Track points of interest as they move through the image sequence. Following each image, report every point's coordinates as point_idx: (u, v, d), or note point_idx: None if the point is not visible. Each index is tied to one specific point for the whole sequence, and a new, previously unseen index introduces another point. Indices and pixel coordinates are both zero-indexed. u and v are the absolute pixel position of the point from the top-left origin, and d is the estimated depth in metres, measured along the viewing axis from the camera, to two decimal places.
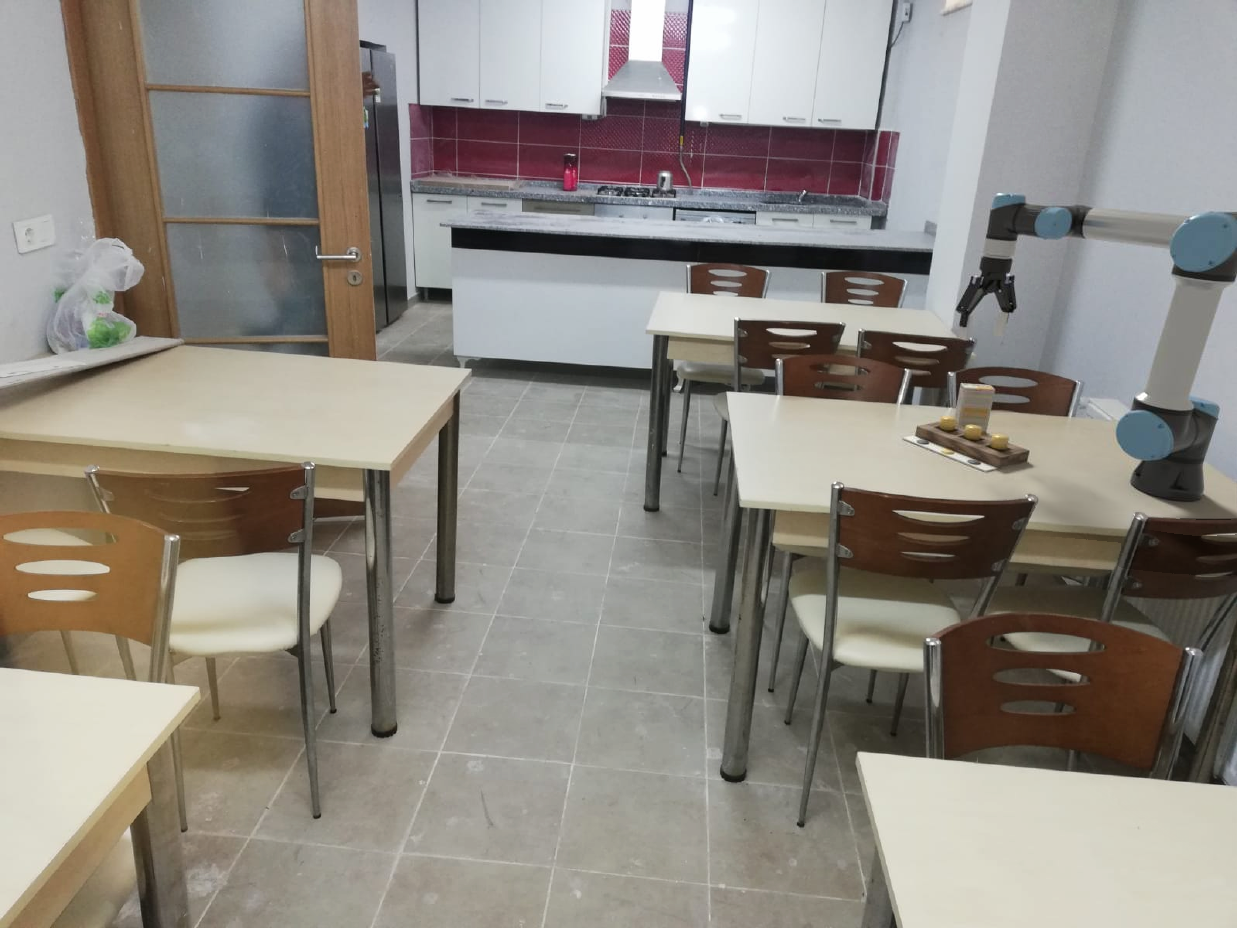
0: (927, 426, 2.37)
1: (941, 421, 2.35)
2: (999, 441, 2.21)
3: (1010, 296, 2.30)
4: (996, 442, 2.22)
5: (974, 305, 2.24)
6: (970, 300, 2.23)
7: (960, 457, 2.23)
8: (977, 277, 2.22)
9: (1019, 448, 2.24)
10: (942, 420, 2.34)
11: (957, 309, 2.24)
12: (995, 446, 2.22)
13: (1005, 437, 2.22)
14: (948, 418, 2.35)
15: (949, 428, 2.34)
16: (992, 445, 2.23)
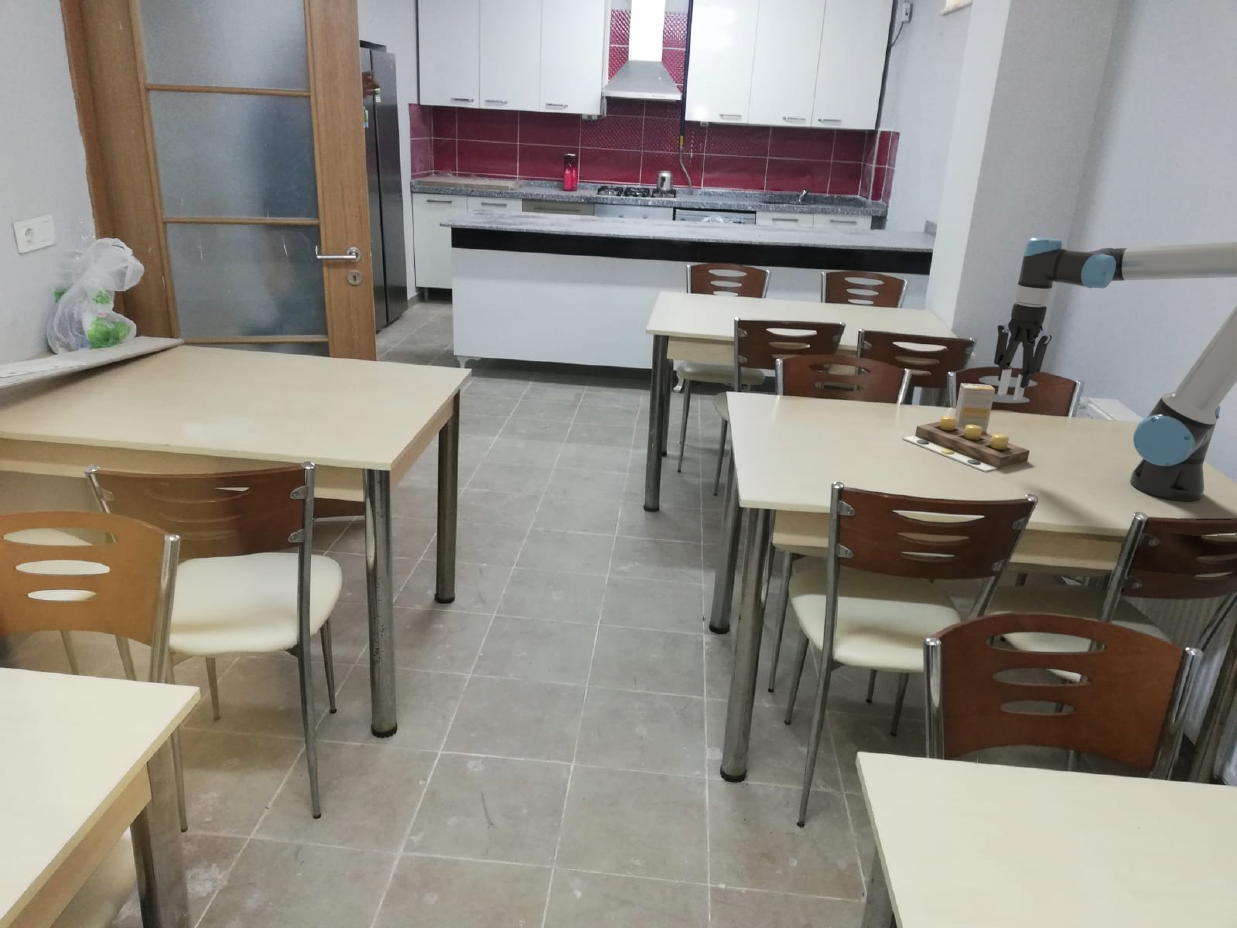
0: (927, 426, 2.37)
1: (941, 421, 2.35)
2: (999, 441, 2.21)
3: None
4: (996, 442, 2.22)
5: (1004, 357, 2.17)
6: (998, 350, 2.18)
7: (960, 457, 2.23)
8: None
9: (1019, 448, 2.24)
10: (942, 420, 2.34)
11: None
12: (995, 446, 2.22)
13: (1005, 437, 2.22)
14: (948, 418, 2.35)
15: (949, 428, 2.34)
16: (992, 445, 2.23)
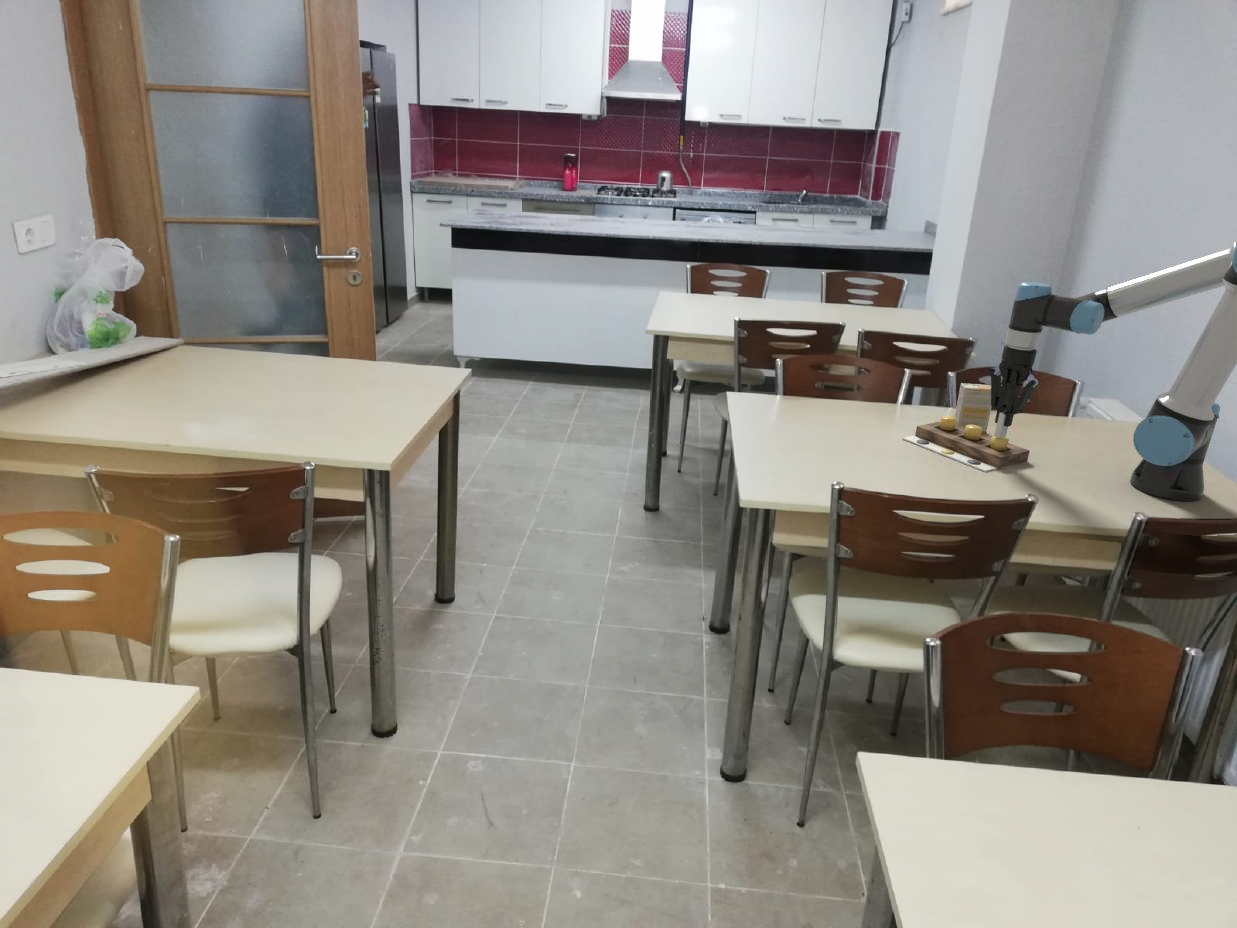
0: (927, 426, 2.37)
1: (941, 421, 2.35)
2: (999, 443, 2.21)
3: None
4: (995, 444, 2.22)
5: (1000, 400, 2.20)
6: (993, 393, 2.21)
7: (960, 457, 2.23)
8: None
9: (1019, 448, 2.24)
10: (942, 420, 2.34)
11: None
12: (994, 447, 2.22)
13: (1005, 438, 2.22)
14: (948, 418, 2.35)
15: (949, 428, 2.34)
16: (992, 446, 2.23)
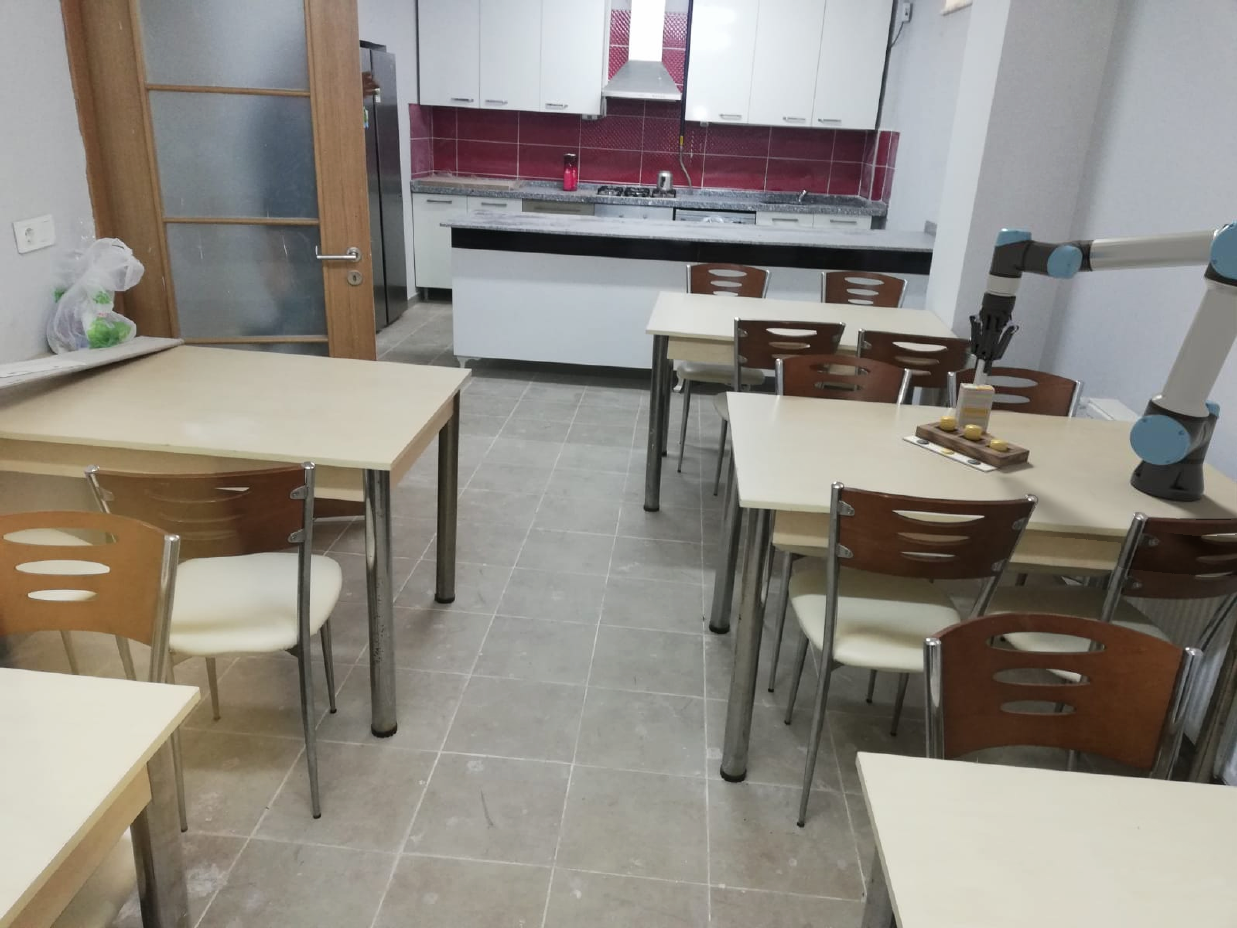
0: (927, 426, 2.37)
1: (941, 421, 2.35)
2: (998, 447, 2.21)
3: None
4: (994, 448, 2.22)
5: (979, 346, 2.22)
6: (973, 340, 2.23)
7: (960, 457, 2.23)
8: None
9: (1019, 448, 2.24)
10: (942, 420, 2.34)
11: None
12: None
13: (1004, 442, 2.23)
14: (948, 418, 2.35)
15: (949, 428, 2.34)
16: None
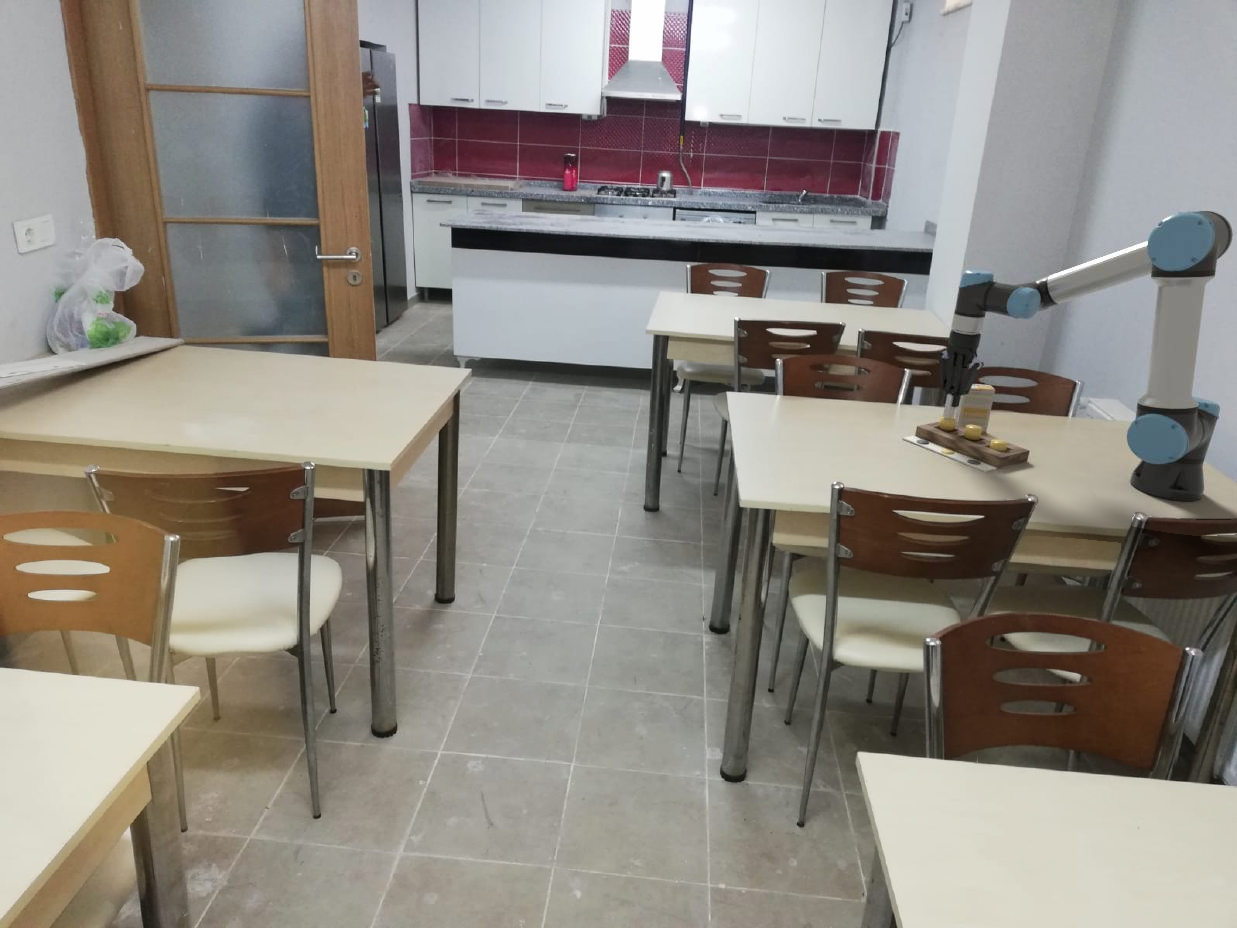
0: (927, 426, 2.37)
1: (941, 421, 2.35)
2: (998, 447, 2.21)
3: None
4: (994, 448, 2.22)
5: (947, 382, 2.32)
6: (941, 375, 2.33)
7: (960, 457, 2.23)
8: None
9: (1019, 448, 2.24)
10: (942, 420, 2.34)
11: None
12: None
13: (1004, 442, 2.23)
14: None
15: (949, 428, 2.34)
16: None
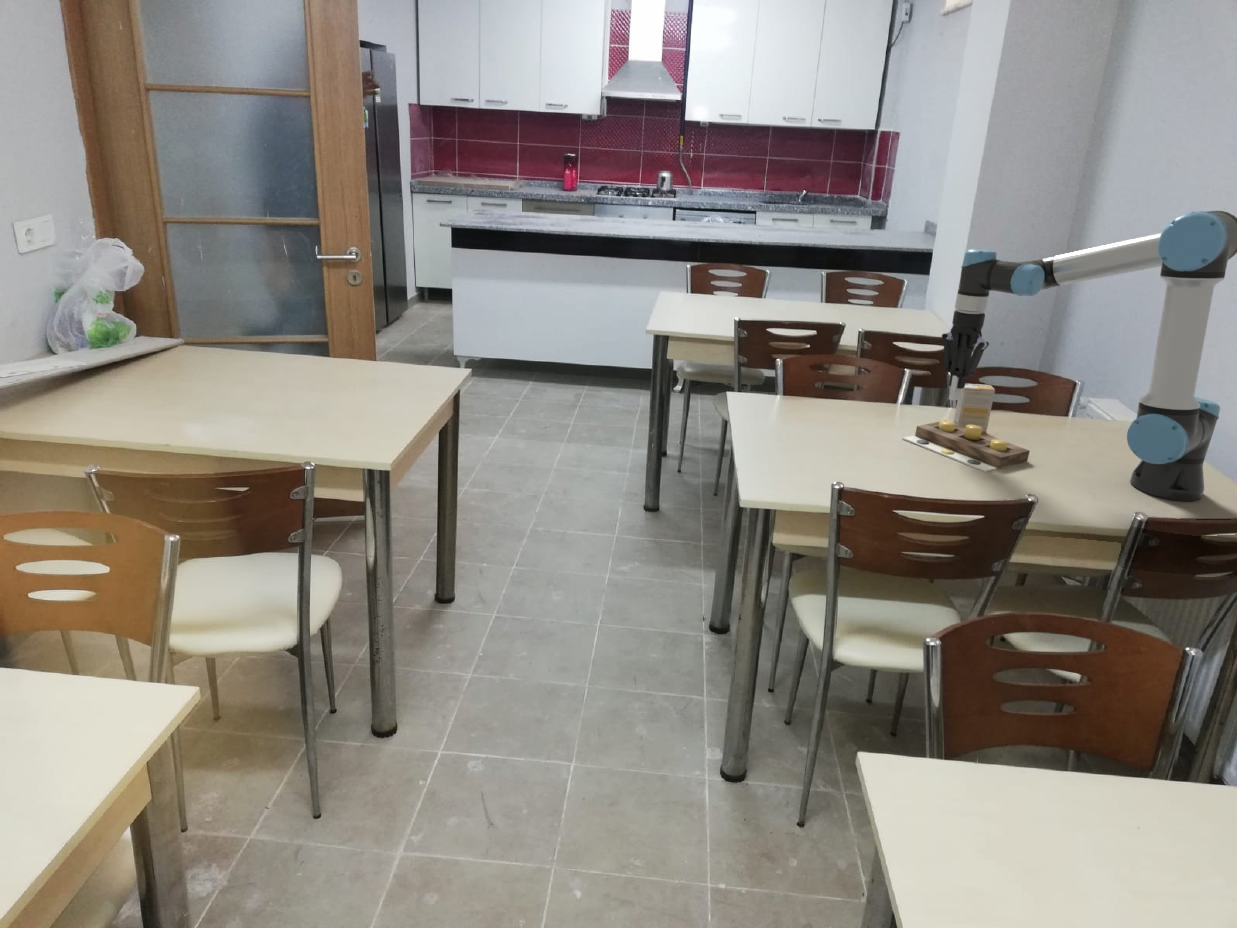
0: (927, 426, 2.37)
1: (940, 426, 2.35)
2: (998, 447, 2.21)
3: None
4: (994, 448, 2.22)
5: (952, 363, 2.30)
6: (946, 357, 2.31)
7: (960, 457, 2.23)
8: None
9: (1019, 448, 2.24)
10: (941, 425, 2.35)
11: None
12: None
13: (1004, 442, 2.23)
14: (947, 423, 2.35)
15: None
16: None
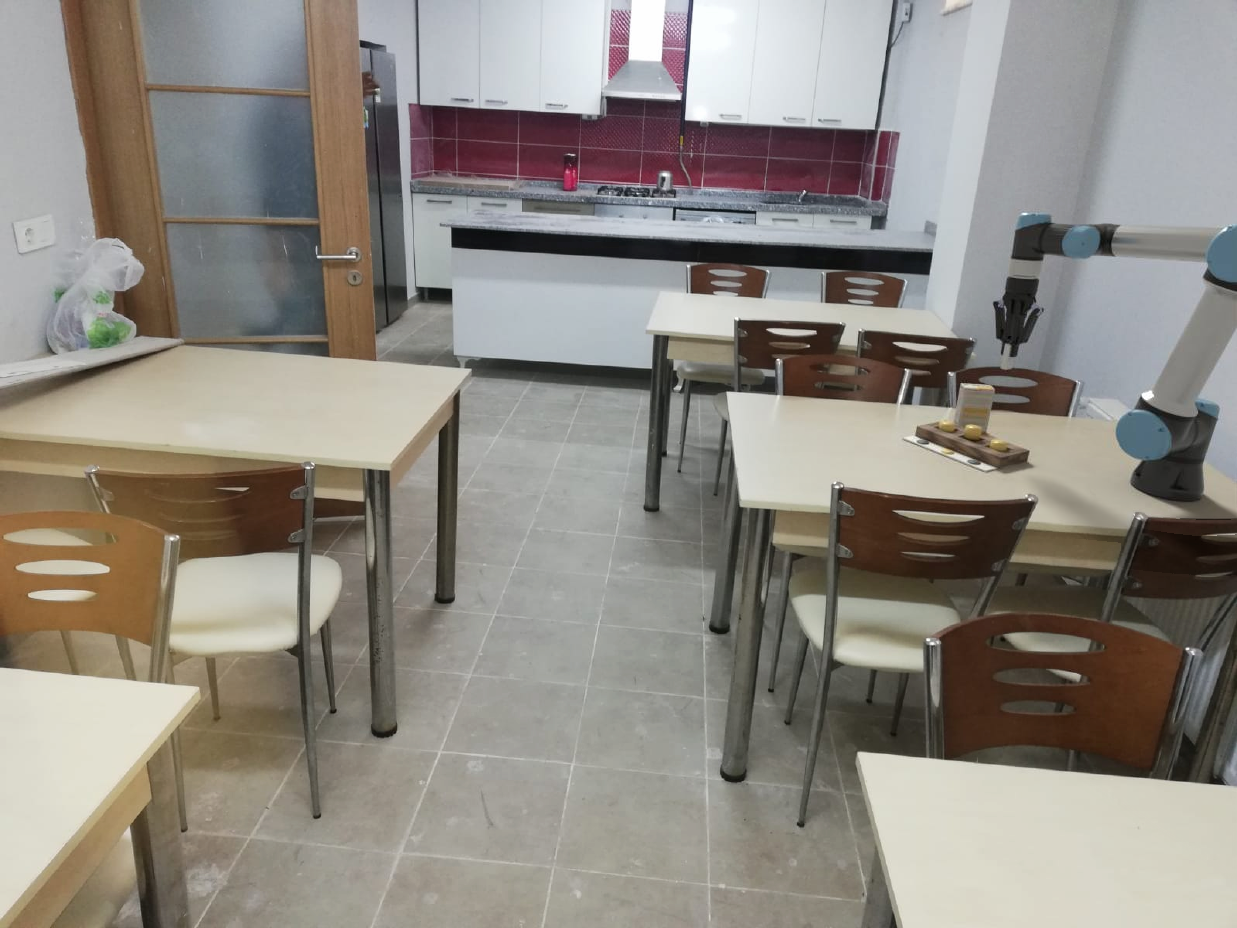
0: (927, 426, 2.37)
1: (940, 426, 2.35)
2: (998, 447, 2.21)
3: None
4: (994, 448, 2.22)
5: (1005, 331, 2.24)
6: (997, 325, 2.25)
7: (960, 457, 2.23)
8: None
9: (1019, 448, 2.24)
10: (941, 425, 2.35)
11: None
12: None
13: (1004, 442, 2.23)
14: (947, 423, 2.35)
15: None
16: None
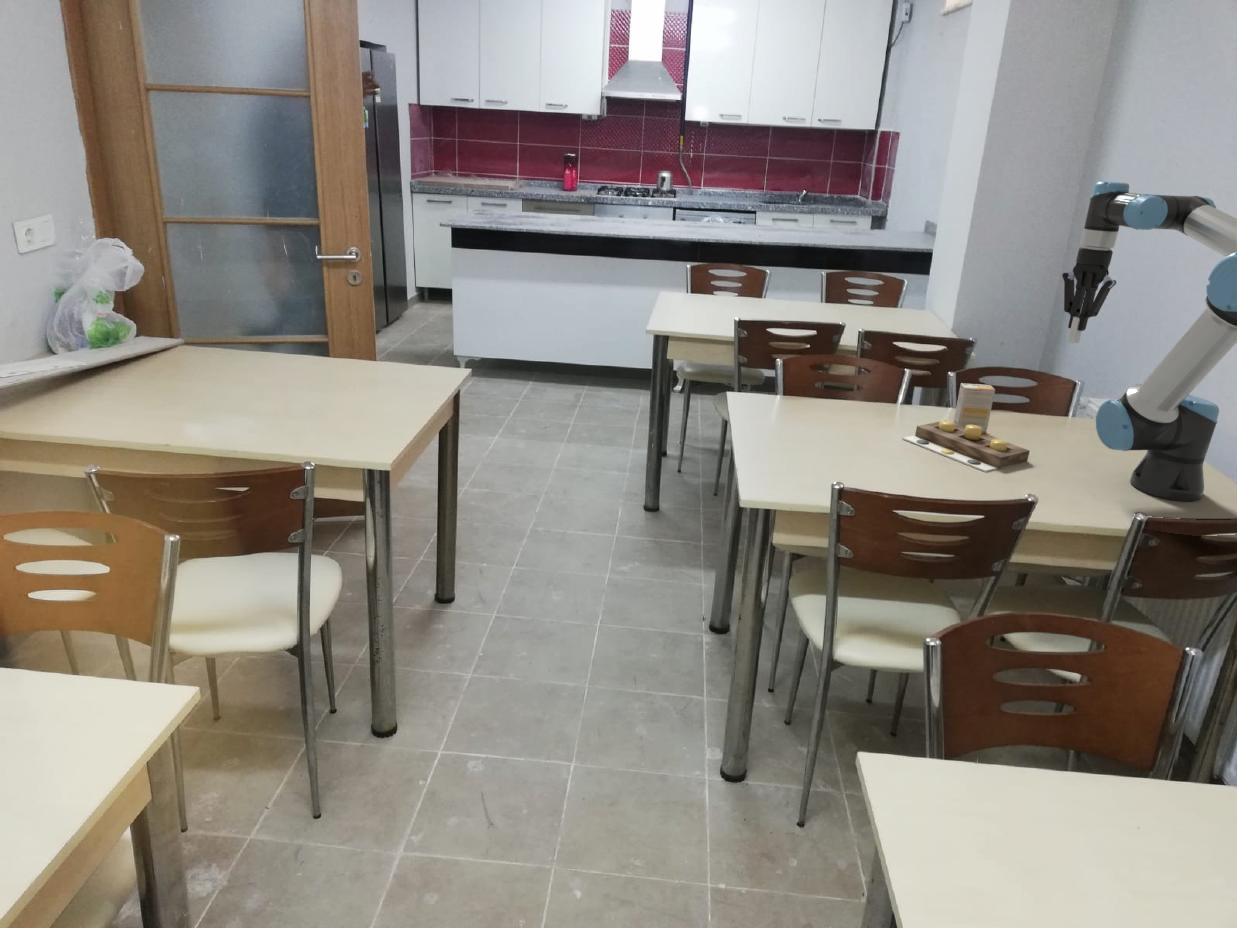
0: (927, 426, 2.37)
1: (940, 426, 2.35)
2: (998, 447, 2.21)
3: None
4: (994, 448, 2.22)
5: (1074, 304, 2.19)
6: (1066, 297, 2.21)
7: (960, 457, 2.23)
8: None
9: (1019, 448, 2.24)
10: (941, 425, 2.35)
11: None
12: None
13: (1004, 442, 2.23)
14: (947, 423, 2.35)
15: None
16: None
